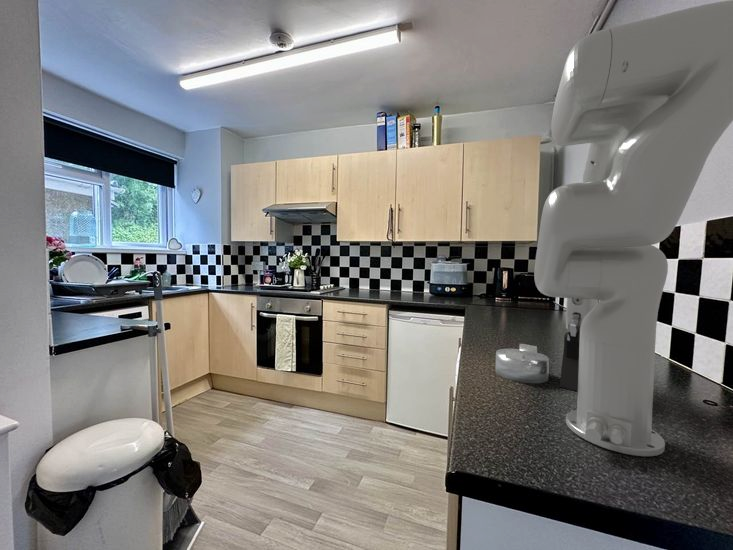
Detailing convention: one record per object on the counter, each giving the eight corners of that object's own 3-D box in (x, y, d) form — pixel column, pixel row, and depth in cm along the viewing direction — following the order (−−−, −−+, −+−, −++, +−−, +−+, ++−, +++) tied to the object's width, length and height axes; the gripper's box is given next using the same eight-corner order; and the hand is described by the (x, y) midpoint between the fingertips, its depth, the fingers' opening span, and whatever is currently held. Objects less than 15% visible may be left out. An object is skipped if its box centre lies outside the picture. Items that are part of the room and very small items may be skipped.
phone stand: (591, 395, 66) (593, 340, 65) (559, 387, 70) (561, 335, 69) (598, 384, 72) (600, 334, 72) (568, 377, 76) (569, 330, 76)
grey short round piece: (540, 387, 69) (541, 358, 69) (487, 373, 78) (488, 348, 78) (553, 374, 78) (554, 349, 78) (505, 363, 86) (506, 340, 86)
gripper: (596, 285, 62) (592, 367, 63) (608, 280, 74) (604, 349, 75) (554, 282, 67) (551, 359, 68) (571, 278, 79) (568, 343, 80)
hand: (579, 354), depth 71 cm, fingers open, 9 cm apart
